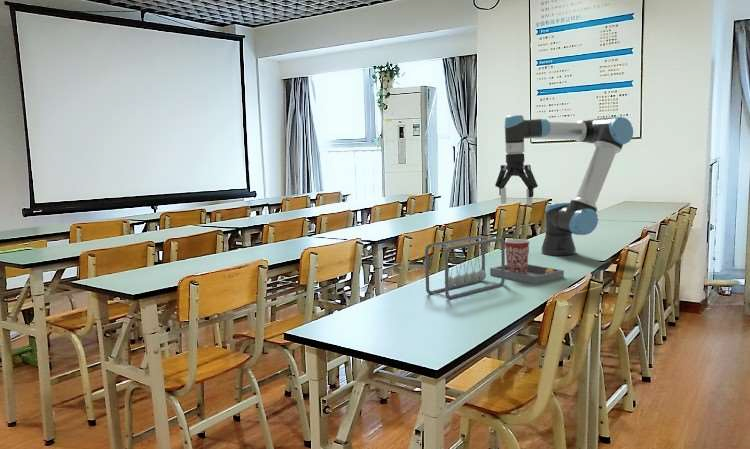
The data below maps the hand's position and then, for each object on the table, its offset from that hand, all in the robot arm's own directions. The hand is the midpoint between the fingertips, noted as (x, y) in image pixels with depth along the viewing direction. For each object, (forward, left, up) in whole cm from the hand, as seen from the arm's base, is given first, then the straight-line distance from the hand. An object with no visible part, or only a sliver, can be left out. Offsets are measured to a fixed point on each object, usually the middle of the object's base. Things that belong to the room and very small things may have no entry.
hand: (516, 204), depth 249 cm
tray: (+17, +20, -26) cm, 37 cm away
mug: (+17, +17, -25) cm, 35 cm away
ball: (+12, +27, -25) cm, 39 cm away
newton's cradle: (+47, +19, -26) cm, 57 cm away
